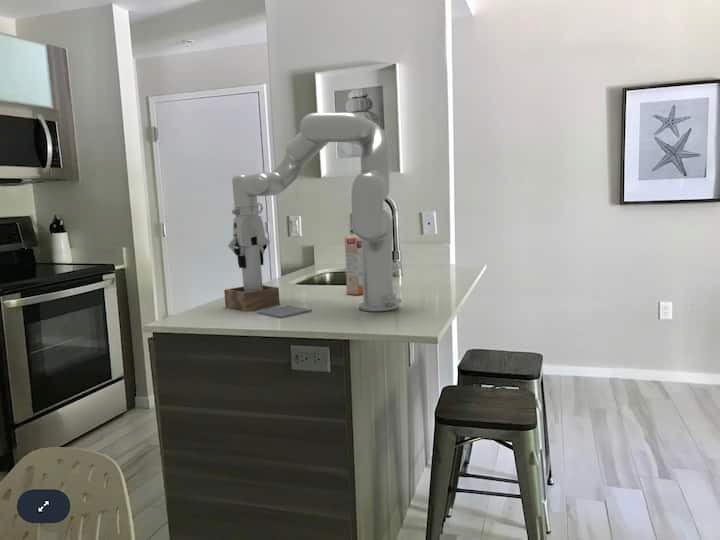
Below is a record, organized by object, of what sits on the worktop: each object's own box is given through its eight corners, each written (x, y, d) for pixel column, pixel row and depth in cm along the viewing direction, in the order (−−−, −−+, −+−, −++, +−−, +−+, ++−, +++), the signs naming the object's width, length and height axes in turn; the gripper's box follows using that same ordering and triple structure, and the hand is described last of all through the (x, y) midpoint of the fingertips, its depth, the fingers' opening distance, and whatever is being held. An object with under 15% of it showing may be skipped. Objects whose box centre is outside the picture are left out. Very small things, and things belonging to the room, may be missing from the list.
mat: (311, 311, 182) (311, 309, 182) (280, 318, 174) (280, 316, 174) (288, 307, 191) (288, 305, 191) (258, 313, 183) (258, 311, 183)
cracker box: (359, 295, 206) (357, 237, 203) (346, 294, 210) (343, 237, 207) (380, 289, 218) (378, 234, 215) (367, 288, 221) (364, 234, 218)
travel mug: (267, 293, 195) (262, 234, 193) (251, 296, 190) (246, 235, 188) (256, 292, 199) (251, 234, 197) (240, 295, 194) (235, 235, 192)
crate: (279, 305, 195) (278, 287, 194) (247, 311, 186) (245, 293, 186) (257, 301, 205) (256, 284, 204) (225, 307, 196) (224, 289, 195)
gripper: (230, 214, 183) (235, 270, 185) (274, 210, 194) (279, 263, 197) (217, 214, 188) (222, 269, 190) (261, 211, 200) (266, 262, 202)
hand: (251, 265), depth 193 cm, fingers closed on travel mug, 6 cm apart
